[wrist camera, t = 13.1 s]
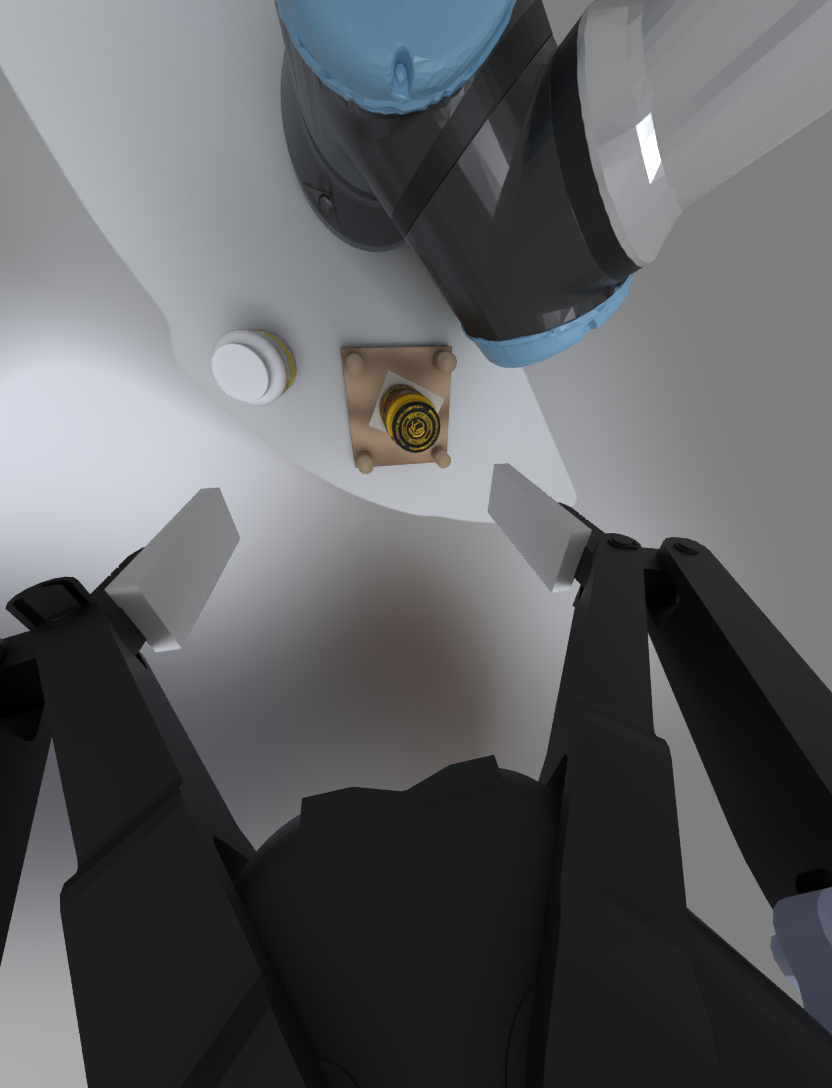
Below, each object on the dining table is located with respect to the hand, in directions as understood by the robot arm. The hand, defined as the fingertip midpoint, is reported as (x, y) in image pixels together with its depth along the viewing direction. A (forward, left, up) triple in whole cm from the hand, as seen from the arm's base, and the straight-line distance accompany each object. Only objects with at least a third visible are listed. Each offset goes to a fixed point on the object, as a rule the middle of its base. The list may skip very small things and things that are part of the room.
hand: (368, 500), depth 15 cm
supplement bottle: (-4, -10, -33) cm, 35 cm away
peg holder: (+2, +6, -33) cm, 33 cm away
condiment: (+2, +7, -31) cm, 32 cm away
